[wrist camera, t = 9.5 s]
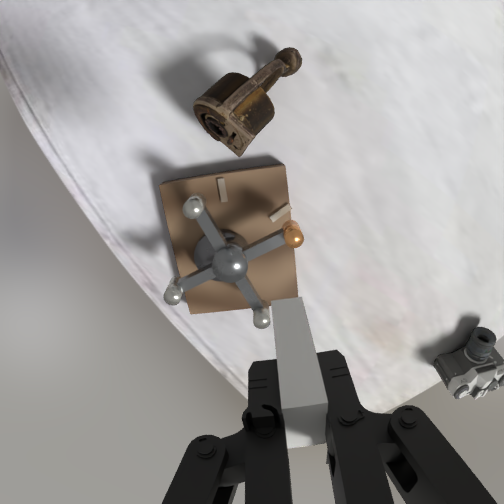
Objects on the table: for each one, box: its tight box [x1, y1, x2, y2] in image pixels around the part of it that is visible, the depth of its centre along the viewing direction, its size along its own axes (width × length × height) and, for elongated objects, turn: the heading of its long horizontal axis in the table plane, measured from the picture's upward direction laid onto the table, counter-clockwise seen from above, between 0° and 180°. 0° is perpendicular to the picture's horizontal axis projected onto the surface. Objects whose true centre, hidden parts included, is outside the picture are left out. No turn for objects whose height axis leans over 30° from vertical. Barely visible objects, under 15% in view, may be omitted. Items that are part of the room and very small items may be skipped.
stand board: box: [159, 164, 298, 314], centre depth 37 cm, size 17×14×2 cm
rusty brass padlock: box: [193, 47, 302, 157], centre depth 27 cm, size 7×13×10 cm, turn 153°
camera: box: [434, 327, 504, 399], centre depth 42 cm, size 16×10×10 cm, turn 88°
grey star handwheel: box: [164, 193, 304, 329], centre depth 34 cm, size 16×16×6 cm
